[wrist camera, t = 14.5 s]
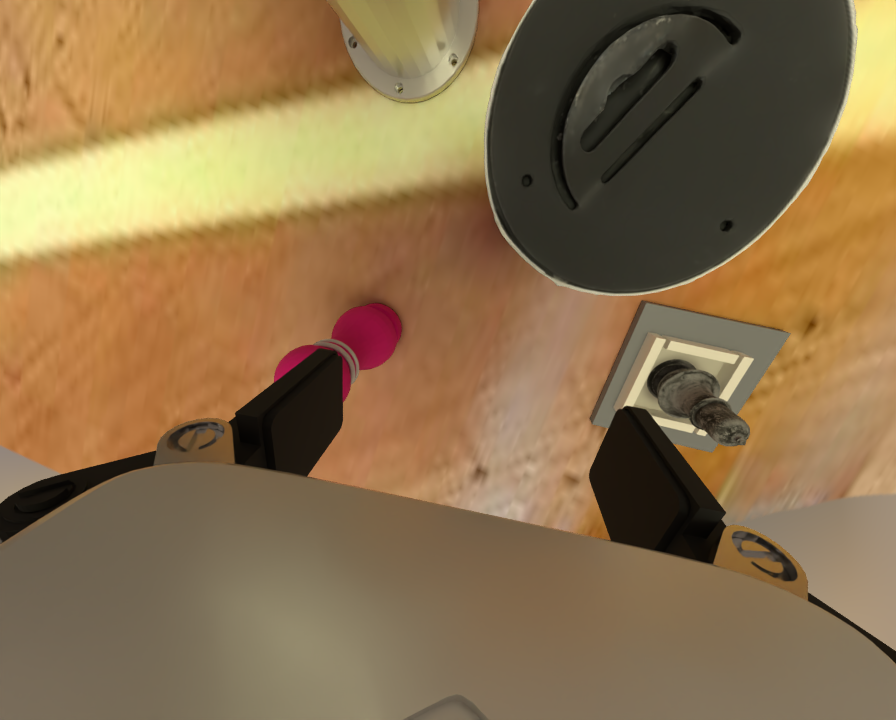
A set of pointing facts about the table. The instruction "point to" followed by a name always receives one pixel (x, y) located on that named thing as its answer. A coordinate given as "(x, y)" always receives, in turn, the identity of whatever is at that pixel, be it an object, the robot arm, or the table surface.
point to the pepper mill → (354, 342)
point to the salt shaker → (696, 401)
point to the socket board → (693, 340)
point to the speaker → (659, 132)
